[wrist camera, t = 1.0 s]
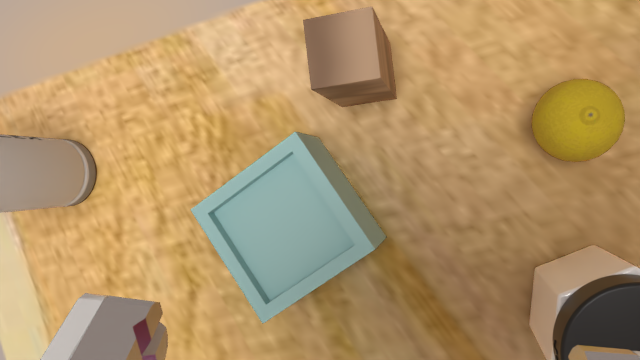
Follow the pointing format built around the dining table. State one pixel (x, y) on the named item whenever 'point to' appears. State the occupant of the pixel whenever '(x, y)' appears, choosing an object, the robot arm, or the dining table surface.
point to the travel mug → (43, 173)
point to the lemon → (578, 120)
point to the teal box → (288, 224)
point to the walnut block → (350, 58)
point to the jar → (585, 303)
